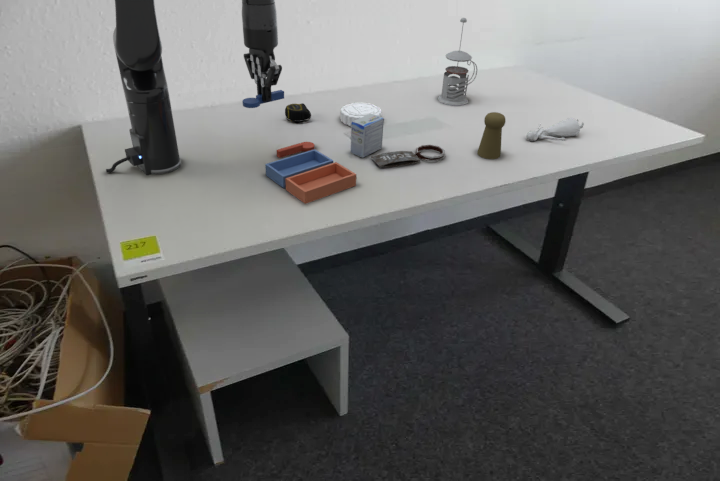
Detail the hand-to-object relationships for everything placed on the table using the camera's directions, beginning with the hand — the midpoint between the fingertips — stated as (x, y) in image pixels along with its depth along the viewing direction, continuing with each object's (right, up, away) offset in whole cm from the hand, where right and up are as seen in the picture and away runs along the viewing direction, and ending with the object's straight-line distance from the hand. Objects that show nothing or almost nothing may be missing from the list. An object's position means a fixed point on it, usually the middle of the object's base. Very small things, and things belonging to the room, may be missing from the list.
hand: (264, 100), depth 131 cm
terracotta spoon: (+6, -11, +11) cm, 16 cm away
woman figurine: (+77, -4, +24) cm, 81 cm away
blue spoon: (0, -1, 0) cm, 1 cm away
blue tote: (+8, -17, +1) cm, 19 cm away
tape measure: (+5, +2, +29) cm, 29 cm away
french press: (+53, +12, +46) cm, 72 cm away
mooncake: (+23, +2, +30) cm, 37 cm away
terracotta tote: (+14, -21, -5) cm, 26 cm away
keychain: (+35, -13, +9) cm, 39 cm away
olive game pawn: (+56, -11, +13) cm, 59 cm away
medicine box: (+24, -10, +12) cm, 29 cm away
